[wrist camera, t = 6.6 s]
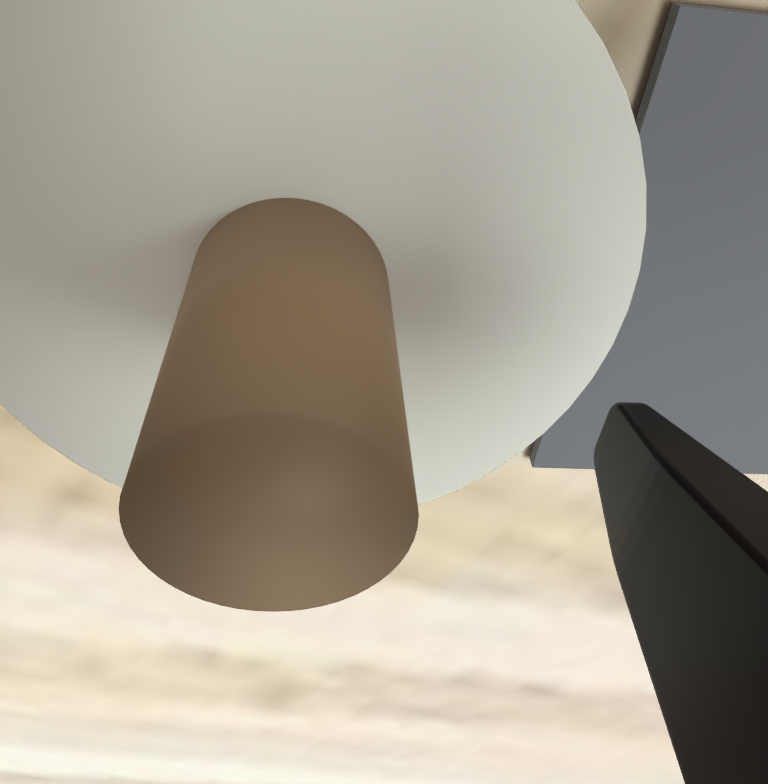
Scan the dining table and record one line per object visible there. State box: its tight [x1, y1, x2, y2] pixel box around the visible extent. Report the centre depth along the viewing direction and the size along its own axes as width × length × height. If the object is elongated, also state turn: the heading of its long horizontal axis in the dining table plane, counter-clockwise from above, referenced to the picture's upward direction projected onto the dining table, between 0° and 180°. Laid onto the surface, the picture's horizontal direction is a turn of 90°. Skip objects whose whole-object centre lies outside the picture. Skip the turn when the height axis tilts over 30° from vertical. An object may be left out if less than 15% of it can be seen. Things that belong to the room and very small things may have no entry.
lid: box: [0, 0, 646, 611], centre depth 10 cm, size 12×12×6 cm
